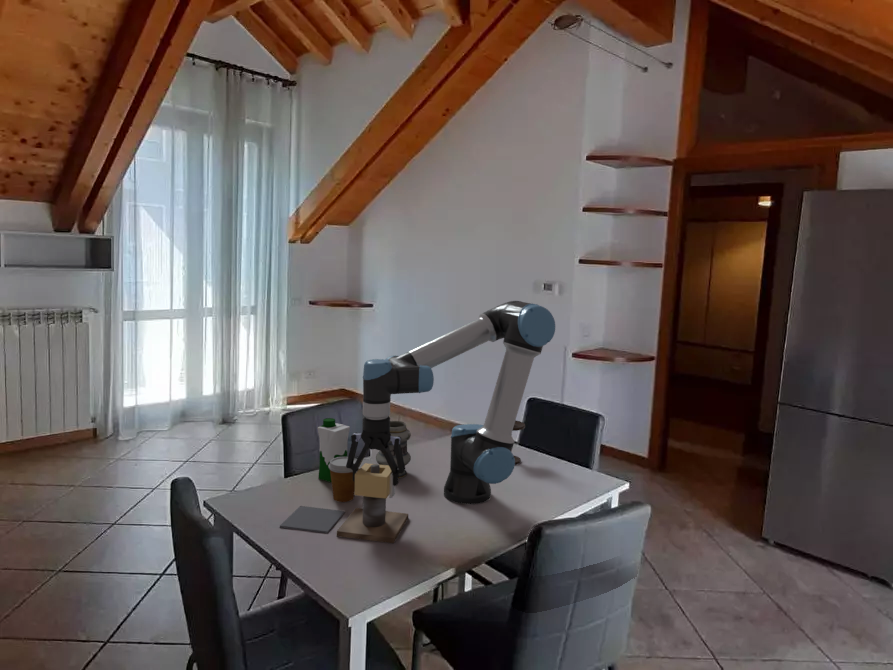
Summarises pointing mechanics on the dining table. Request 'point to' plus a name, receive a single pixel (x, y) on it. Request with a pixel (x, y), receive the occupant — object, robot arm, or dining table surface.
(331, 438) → the milk carton
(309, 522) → the mat
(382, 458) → the apothecary jar
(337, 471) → the disposable coffee cup
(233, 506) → the dining table surface
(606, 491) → the dining table surface
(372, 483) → the collar
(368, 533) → the stand
